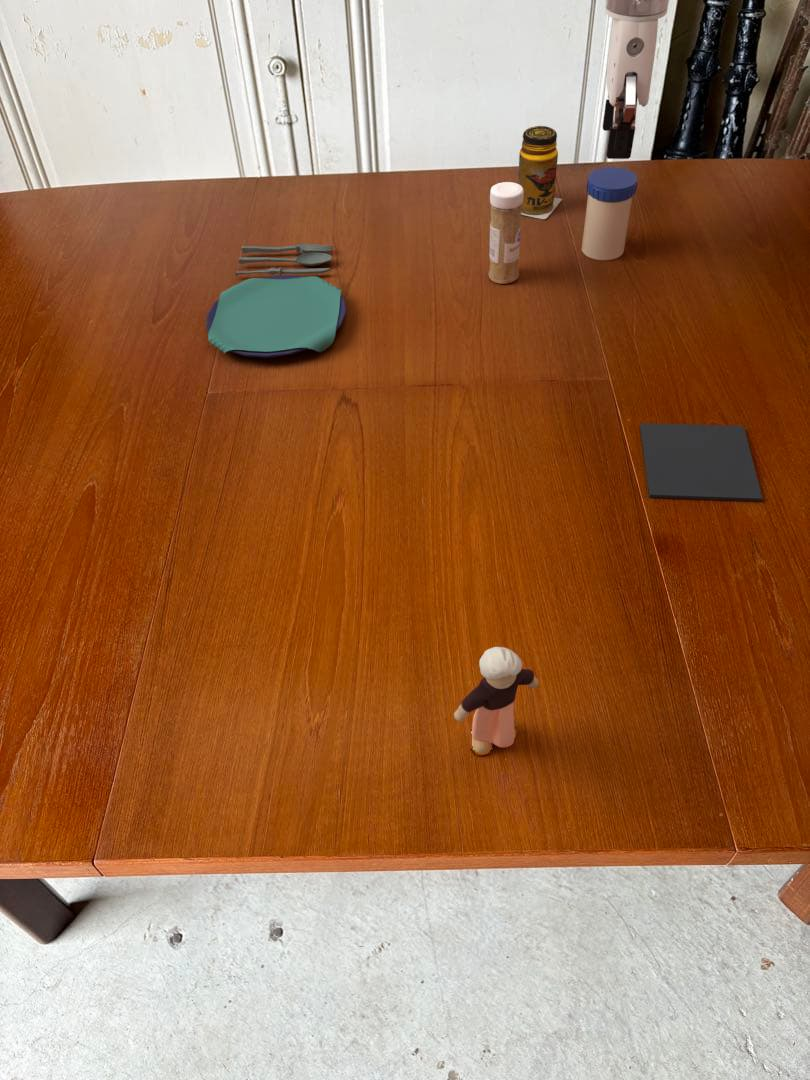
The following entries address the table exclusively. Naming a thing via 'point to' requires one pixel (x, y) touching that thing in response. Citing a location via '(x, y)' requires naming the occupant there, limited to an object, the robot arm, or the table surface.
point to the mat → (699, 462)
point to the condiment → (538, 171)
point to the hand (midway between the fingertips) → (615, 142)
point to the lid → (611, 184)
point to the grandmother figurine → (495, 699)
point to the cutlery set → (278, 307)
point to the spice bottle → (505, 231)
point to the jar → (605, 228)
